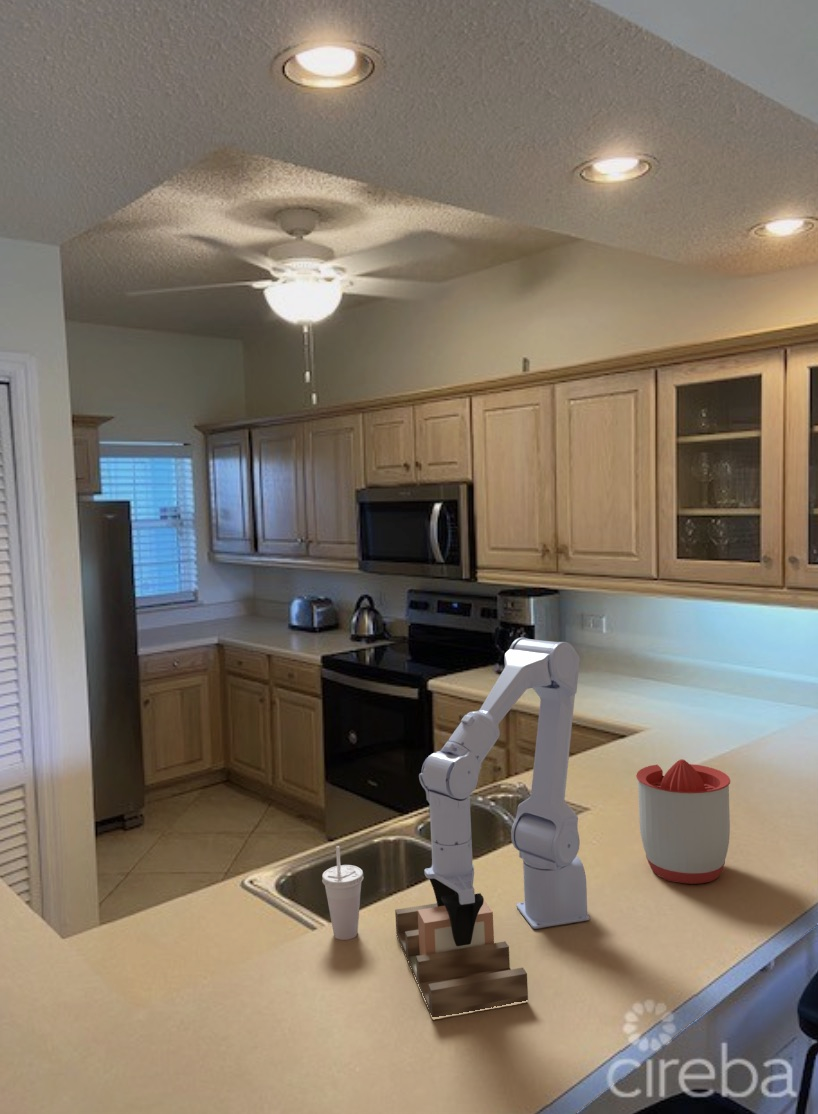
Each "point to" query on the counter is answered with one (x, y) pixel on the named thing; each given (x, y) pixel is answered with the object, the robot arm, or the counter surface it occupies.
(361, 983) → the counter surface
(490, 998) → the rack
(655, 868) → the citrus juicer
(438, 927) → the pink rectangular block
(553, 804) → the robot arm
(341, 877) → the smoothie
